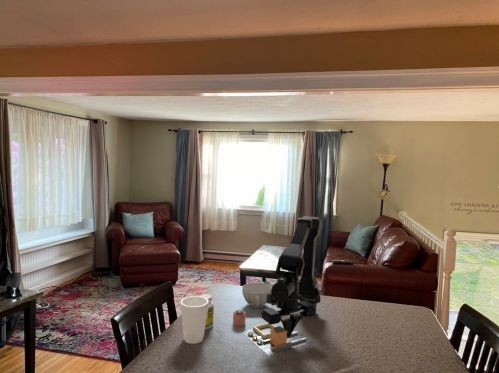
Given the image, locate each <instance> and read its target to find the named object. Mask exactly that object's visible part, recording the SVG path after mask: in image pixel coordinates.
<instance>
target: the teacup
mask: <svg viewBox="0 0 499 373" xmlns="http://www.w3.org/2000/svg"><path fill="white" fill-rule="evenodd" d="M241 288H242V290H241V292H242V295H243V296H242V297H243V298H244V300H245V302H246V303H247V304H248V305H249V306H250V307H251V308H253V309H260V308H263V307H264V306H265V305H267V304H268V303H267V300H266V298H267V294H271V289H272V285H270V284H267V283H266V282H259V281H258V282H249V283H246V284H243V285H242V287H241Z"/></svg>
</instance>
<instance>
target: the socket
mask: <svg viewBox="0 0 499 373" xmlns="http://www.w3.org/2000/svg"><path fill="white" fill-rule="evenodd" d="M269 326H270V327H271V328H272V329H273V328H274V327H276V326H274V325H273V324H269V323H268V322H265V323H261V324H258V325H253V326H252V329H253V330H254V331H255V332H256V333H258V334H259V335H260V336H261V337H263V338H264V339H265V338H269V337H270V333H267V334H264V333H263V332H261V331H260V330H259V329H261V328H265V327H269Z"/></svg>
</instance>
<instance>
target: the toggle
mask: <svg viewBox="0 0 499 373" xmlns="http://www.w3.org/2000/svg"><path fill="white" fill-rule="evenodd" d="M286 339H287V331H286V330H285V329H283V328H282V327H280V326H278V327H274V328H273V329H271V333H270V343H272V344H273V345H274V346H278V345H282V344H285V343H286Z"/></svg>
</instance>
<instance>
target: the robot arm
mask: <svg viewBox="0 0 499 373" xmlns="http://www.w3.org/2000/svg"><path fill="white" fill-rule="evenodd" d="M296 224H297V225H296V228H295V230H294V233H293V234H292V235H293V236H292V238H291V241H290V242H289V243H290V244H289V245H288V246H287V247H285V248H284V249H283V251H282V252H281V254H280V255H279V257H278V261H277V265H276V269H275V272H274V276H276V277H279V278H277V282H275V283H274V284H273V285H271V287H272V289H271V294H267V298H266V300H267V303H266V304H268V305H271V306H272V307H269V308H265V309H264V308H263V310H262V311H261V315H260V318H261V319H262V320H263V321H265V323H269V324H276V323H279V322H282V324H283V327H284V329H285V330H286V331H287V337H290V336H291V334H292V332H293V330H294V329H295V330H296V327H297V325H298V324H299V322H301V320H303V317H314V316H315V315H317V316H320V315H319V314H318V313H317V305H318V304H319V303H321V298H322V297H321V292H320V289H319V282H318V280H317V279H316V277H315V262H316V246H317V238H318V237H319V235H320V234H321V232H322V231H321V230H322V229H323V220H321V218H320V217H319V216H310V215H309V216H308V215H303V216H302V217H298V218H297V223H296ZM273 306H276V308H278V309H279V310H276V309H274V308H273Z"/></svg>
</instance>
